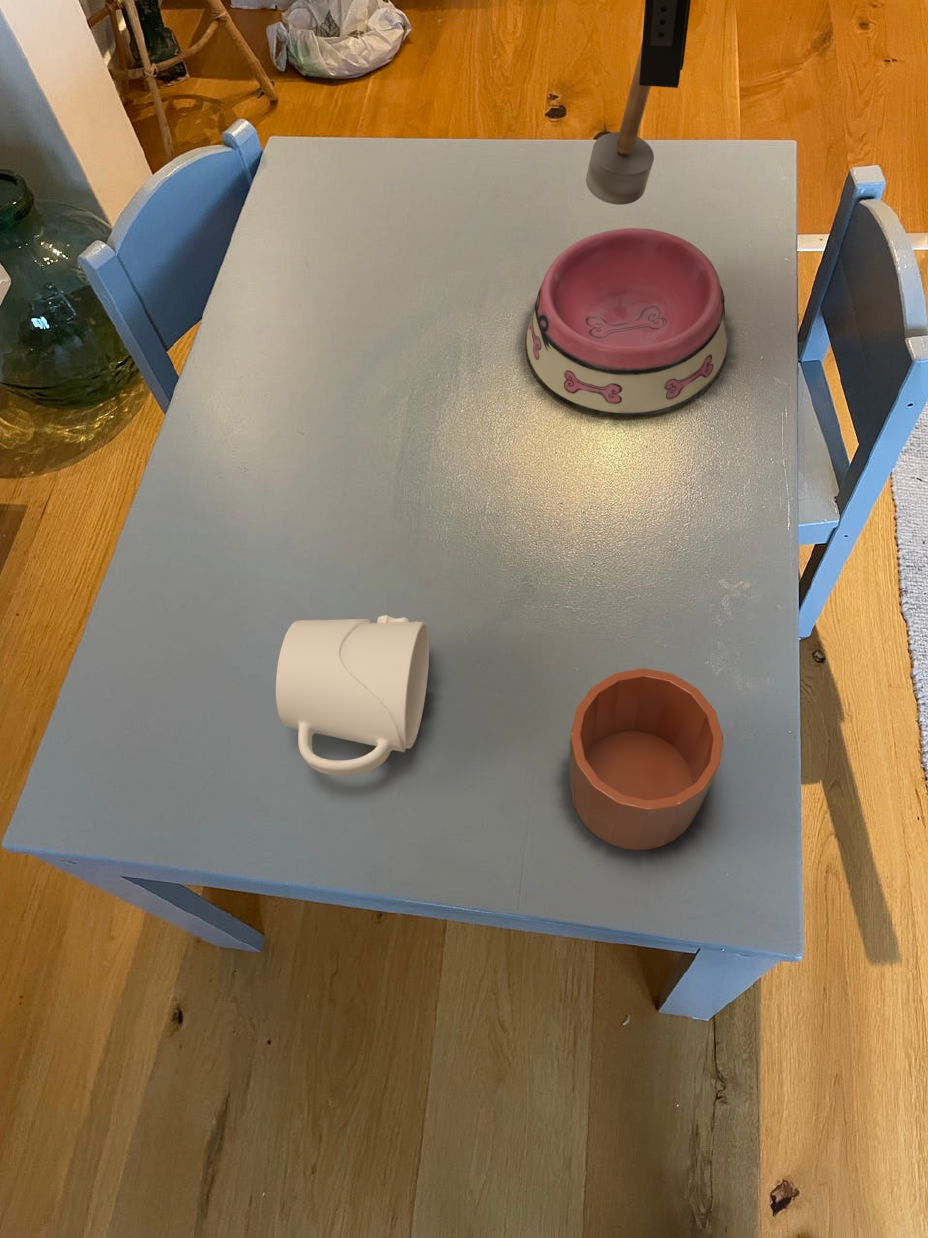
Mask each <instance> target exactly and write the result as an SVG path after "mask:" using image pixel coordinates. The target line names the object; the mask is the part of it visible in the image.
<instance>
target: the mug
mask: <svg viewBox="0 0 928 1238" xmlns="http://www.w3.org/2000/svg"><path fill="white" fill-rule="evenodd" d="M429 633H430V632H429V627H428V624H427V623H426V622H425V621H416V620H415V621H410V620H409V618H407V617H405V616H403V617H399V618H396V617H392V616H390V615H388V614H385V615H380V616H378V617H377V622H371V620H369V618H349V619H347V618H346V619H345V618H342V619H305V620H304V619H302V620H301V619H299V620H296V621H294V622H293V623H291V625H290V626H289V627H288V629H287V631H286V633H285V636H284V638H283V641H282V644H281V646H280V652H279V655H278V661H277V668H276V678H275V699H276V700H275V701H276V709H277V713H278V716H279V717H278V718H279V719H280V722H281V723H282V724H283V726H285V727H287V728H291V729H295V730H298V732H297V733H298V734H297V735H298V736H297V738H298V739H297V742H298V750H299V753H300V755H301V757H302V758H303V759H304V761H305V762H306V764H307V765H308V766H309V767H310V768H312V769H313V770H315V771H317V772H318V773H322V774H325V775H330V776H336V777H348V776H356V775H357V776H358V775H362V774H365V773H368V772H371V771H373V770H375V769H377V768H378V767H380V766H381V765H382V764H383V763H384V762H386V760H388V757H389V756H390V754H391V753H392V751H396V752H400V753H405V752H406V749H408V750H410V749H411V748H412V747H413V746H414V744H415V742H416V740H417V737H418V735H419V730H420V726H421V723H422V717H423V712H424V708H425V701H426V695H427V687H428V679H429V667H430V634H429ZM315 734H318V735H321V736H327V737H332V738H337V739H341V740H346V741H351V742H355V743H360V744H364V745H369V746H373V747H375V748H374V749H373V750H372V751H371V752H369V753H366V754H365V755H363V756H360V757H356V758H353V759H346V760H344V759H343V760H334V759H327V758H323V757H321V756H318V755H316V754H315V753H314V752H313V735H315Z"/></svg>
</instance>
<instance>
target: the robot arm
mask: <svg viewBox="0 0 928 1238" xmlns="http://www.w3.org/2000/svg"><path fill="white" fill-rule="evenodd" d="M644 1H645V2H644V14H643V15H644V16H643V26H642V27H643V28H642V38H641V39H642V40H641V44H642V53H641V66H640V79H639V85H641V86H651V87H657V88H659V87H660V88H673V89H678V88H679V84H680V78H681V71H682V70H683V68H684V65H685V55H686V47H687V39H688V38H687V37H688V29H689V19H690V11H691V3H692V0H644Z"/></svg>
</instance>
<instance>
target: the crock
mask: <svg viewBox="0 0 928 1238" xmlns="http://www.w3.org/2000/svg"><path fill="white" fill-rule="evenodd" d="M569 744H570V745H569V771H568V785H569V790H570V798H571V802H572V805H573V808H574V809H575V811H576V814H577V815H578V817H579V819H580V821H582V823H583V824H584V826H585V827H586V828H587V829H588V830H589V831H590V832H591V833H592V834H594V835H595V836H596V837H597V838H599V839H601V840H602V841H604V842H605V843H607V844H610V845H611V846H614V847H618V848H621V849H623V850H624V849H625V850H631V851H647V850H653V849H657V848H660V847H663V846H665V845H668V844H670V843H671V842H673V841H675V840H676V839H678V838H679V837H680V836H681V835H682V834H684V833H685V832H686V831H687V830H688V828H689V827H690V825H691V824H692V822H693V820H694V819H695V817H696V815H697V814H698V813H699V811H700V809H701V806H702V804H703V802H704V800H705V798H706V796H707V793H708V791H709V789H710V787H711V785H712V783H713V781H714V778H715V777H716V774H717V773H718V770H719V767H720V765H721V758H722V751H723V745H724V735H723V733H722V730H721V726H720V722H719V718H718V715H717V712H716V710H715V709H714V707H713V706H712V704H711V703H710V702H709V701H708V700H707V698H706V697H705V696H704V695H703V693H702V692H701V691H700V690H699V688H697V687H695V686H694V685H692V684H690V683H689V682H687V681H686V680H683V679H682V678H681V677H678V676H677V675H675V673H674V674H673V673H671V672H665V671H660V670H656V669H649V668H644V667H643V668H638V669H637V668H636V669H631V670H626V671H625V670H624V671H619V672H615V673H613V674H611V675H610V676H608V677H606V678H605V679H603V680H601V681H600V682H597V683H596V684H594V685H593V686H592V687H590V689H589V691H587V693H586V694H585V696H584V697H583V698H582V700H581V701H580V703H579V704H578V705H577V707H576V708H575V713H574V717H573V721H572V726H571V731H570V743H569Z"/></svg>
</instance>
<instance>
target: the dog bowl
mask: <svg viewBox="0 0 928 1238" xmlns="http://www.w3.org/2000/svg"><path fill="white" fill-rule="evenodd" d="M545 272H546V273H545V274H544V277H543V280H542V283H541V285H540V286H539V287H540V288H539V289H538V292H537V296H536V299H535V304H534V310H533V313H532V316H531V319H530V321H529V324H528V327H527V330H526V333H525V340H524V341H525V342H524V343H525V344H524V348H525V355H526V360H527V363H528V365H529V368H530V369H529V370H530V371H531V372H532V375H533V377H534V378H535V380H536V381H537V382H538V384H539V385H540V386H541V387H542V388H543V389H544V390H545V391H546V392H548V394H550V396H552V397H553V398H555V399H556V400H558V401H560V402H561V403H563V404H565V405H567V406H569V408H573V409H575V410H578V411H581V412H583V413H587V414H590V415H595V416H599V417H605V418H613V419H614V418H615V419H633V418H642V417H651V416H656V415H660V414H663V413H668V412H670V411H673V410H676V409H678V408H680V407H682V406H685V405H686V404H688V403H690V402H692V401H693V400H694V399H696V398H698V397H699V396H700V395H702V394H703V393H704V392H705V391H706V390H707V389H709V388H710V387H711V386H712V385H713V383H714V382H715V381H716V379H717V378H718V376H719V375H720V373H721V372H722V370H723V367H724V365H725V363H726V360H727V355H728V348H729V338H728V337H729V336H728V330H727V324H726V309H725V308H726V307H725V302H726V301H725V293H724V291H723V287H722V284H721V282H720V281H721V280H720V277H719V274H718V272H717V270H716V268H715V266H714V264H713V263H712V261H711V260H710V259H709V258H708V257H707V255H706V254H705V253H703V251H702V250H700V249H699V248H698V246H695V245H694V244H693V243H691V242H689V241H688V240H686V239H685V238H681V237H679V236H677V235H674V234H671V233H670V232H669V233H668V232H664V231H660V230H655V229H648V228H639V227H637V228H636V227H631V228H630V227H627V228H618V229H611V230H607V231H602V232H599V233H594V234H592V235H590V236H587V237H584V238H583V239H581V240H578V241H577V242H575V243H573V244H571V245H570V246H568V247H566V249H565V250H563V251H562V252H560V254H558V256H557V257H556V258H555V259H554V260H553V261H552V263H551V264H550V266H549V267H548V269H547V271H545Z"/></svg>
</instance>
